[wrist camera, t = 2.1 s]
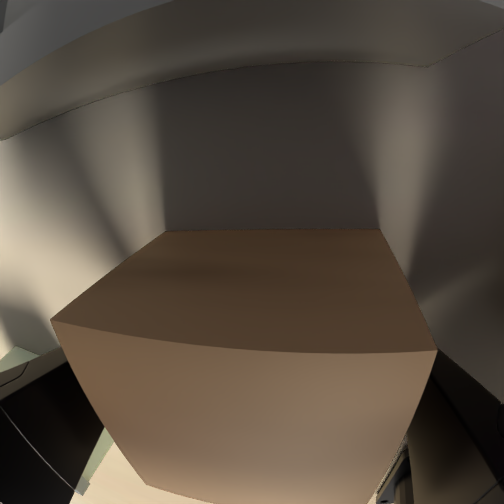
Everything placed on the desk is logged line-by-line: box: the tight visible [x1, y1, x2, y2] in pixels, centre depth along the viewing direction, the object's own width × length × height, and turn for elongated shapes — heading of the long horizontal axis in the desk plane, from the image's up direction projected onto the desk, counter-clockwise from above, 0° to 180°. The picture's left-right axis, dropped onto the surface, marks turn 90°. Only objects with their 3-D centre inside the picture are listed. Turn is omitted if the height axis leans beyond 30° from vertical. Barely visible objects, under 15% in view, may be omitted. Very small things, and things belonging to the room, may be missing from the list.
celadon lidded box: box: [0, 346, 114, 496], centre depth 13 cm, size 6×6×5 cm
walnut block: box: [50, 229, 438, 504], centre depth 7 cm, size 6×6×5 cm
